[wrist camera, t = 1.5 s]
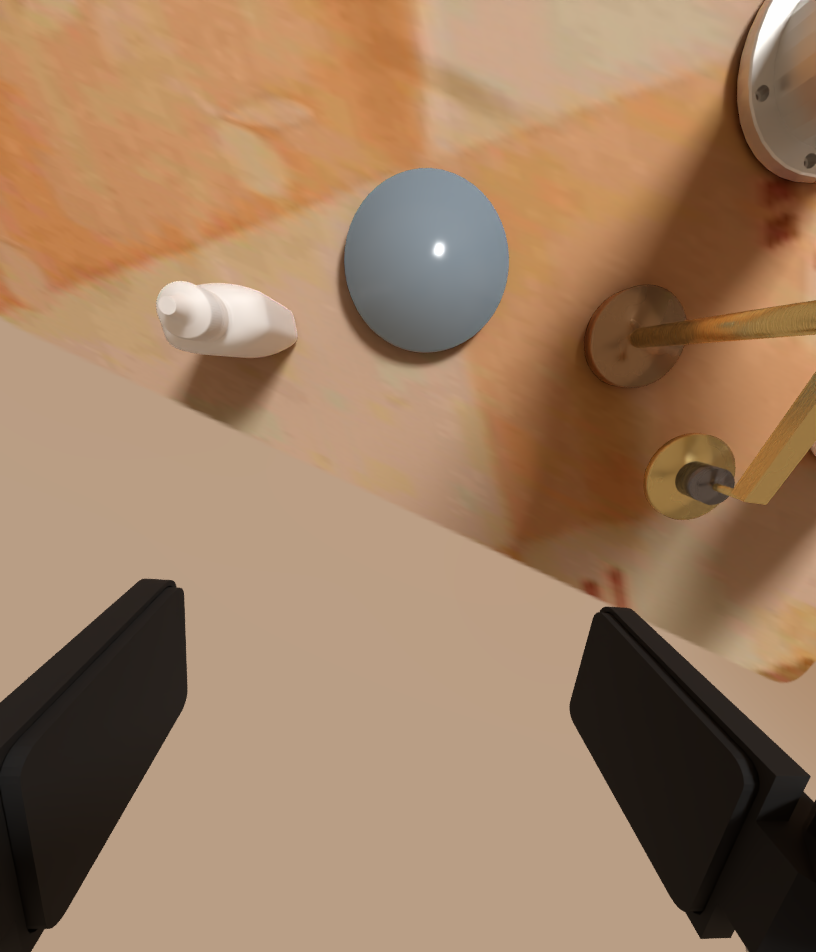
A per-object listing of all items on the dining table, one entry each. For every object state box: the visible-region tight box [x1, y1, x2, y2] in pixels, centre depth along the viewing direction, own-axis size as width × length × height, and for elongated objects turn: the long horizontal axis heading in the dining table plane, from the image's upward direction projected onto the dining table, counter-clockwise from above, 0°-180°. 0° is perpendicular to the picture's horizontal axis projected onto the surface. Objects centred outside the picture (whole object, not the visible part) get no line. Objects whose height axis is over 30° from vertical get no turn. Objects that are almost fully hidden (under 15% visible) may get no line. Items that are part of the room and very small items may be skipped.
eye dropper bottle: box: [156, 281, 298, 358], centre depth 21 cm, size 4×6×12 cm
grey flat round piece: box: [344, 168, 509, 353], centre depth 26 cm, size 11×11×1 cm
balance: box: [584, 285, 816, 520], centre depth 20 cm, size 21×7×18 cm, turn 171°
